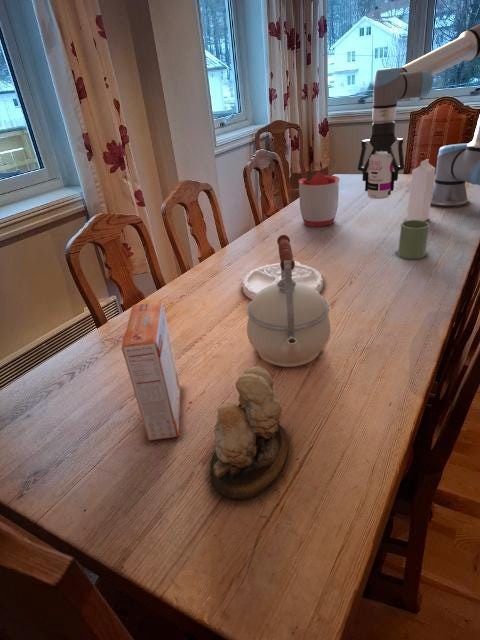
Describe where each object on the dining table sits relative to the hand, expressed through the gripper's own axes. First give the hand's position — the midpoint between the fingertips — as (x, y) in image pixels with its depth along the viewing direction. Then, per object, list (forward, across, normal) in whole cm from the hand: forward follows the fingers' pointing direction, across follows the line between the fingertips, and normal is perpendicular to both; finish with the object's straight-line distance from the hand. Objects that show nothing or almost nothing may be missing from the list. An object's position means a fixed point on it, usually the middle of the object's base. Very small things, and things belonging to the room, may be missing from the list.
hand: (379, 189), depth 155 cm
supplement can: (+2, 0, 0) cm, 2 cm away
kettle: (+14, -9, -88) cm, 89 cm away
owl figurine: (+13, -6, -118) cm, 119 cm away
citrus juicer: (+14, -24, +4) cm, 28 cm away
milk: (+15, +14, +12) cm, 23 cm away
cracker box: (+13, -26, -113) cm, 117 cm away
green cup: (+14, +14, -24) cm, 31 cm away
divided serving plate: (+14, -20, -53) cm, 59 cm away
